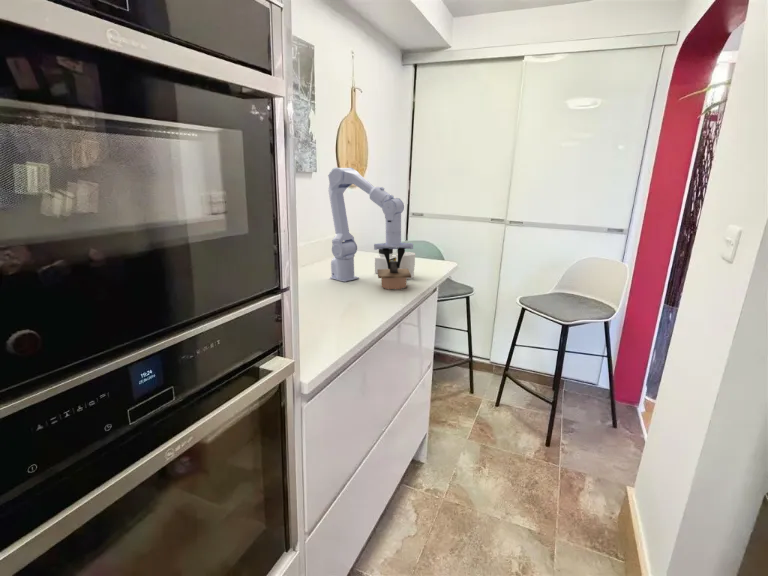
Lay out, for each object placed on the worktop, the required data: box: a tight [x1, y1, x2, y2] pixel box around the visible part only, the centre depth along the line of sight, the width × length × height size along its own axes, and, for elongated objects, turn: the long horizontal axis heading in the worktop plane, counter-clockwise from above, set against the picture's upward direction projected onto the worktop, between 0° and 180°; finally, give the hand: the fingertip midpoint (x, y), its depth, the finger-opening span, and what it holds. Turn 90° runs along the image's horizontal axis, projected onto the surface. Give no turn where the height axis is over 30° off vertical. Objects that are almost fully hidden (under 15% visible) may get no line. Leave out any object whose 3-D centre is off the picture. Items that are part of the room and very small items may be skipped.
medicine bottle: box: [374, 247, 396, 274], centre depth 184 cm, size 7×7×12 cm
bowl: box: [380, 278, 407, 290], centre depth 162 cm, size 9×9×4 cm
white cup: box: [395, 251, 416, 280], centre depth 175 cm, size 8×8×10 cm
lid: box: [377, 261, 411, 279], centre depth 161 cm, size 12×12×5 cm
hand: (393, 268), depth 161 cm, fingers closed on lid, 3 cm apart
